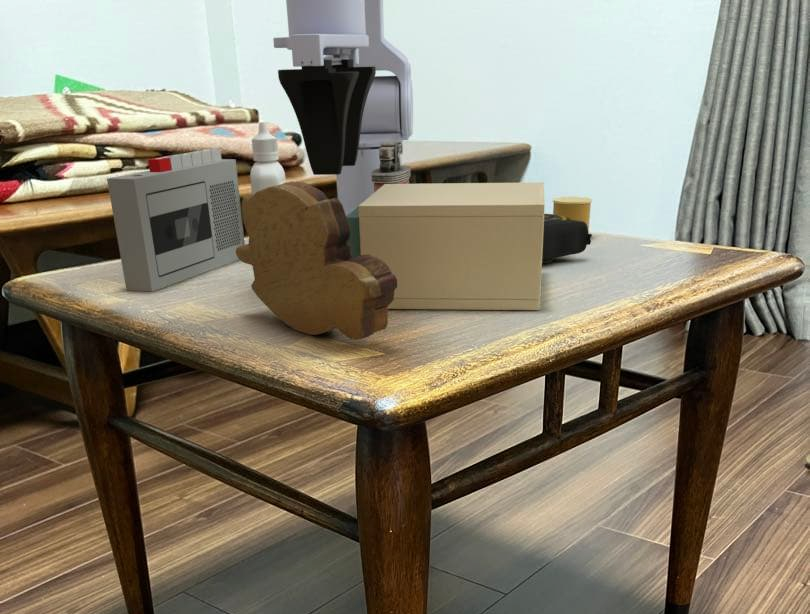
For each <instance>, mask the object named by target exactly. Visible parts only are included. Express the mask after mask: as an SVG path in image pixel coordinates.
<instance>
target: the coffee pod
mask: <svg viewBox="0 0 810 614" xmlns="http://www.w3.org/2000/svg"><path fill="white" fill-rule="evenodd" d="M552 202H553V205H552V206H553V210H552V214H555V215H561V216H565V217H567V218H569V219H571V220H576V221H583V222H585V223H586V224H587V227H588V231H590V220H591V218H590V217H591V204H592V202H593V199H592V198H590V197H584V196H562V197H560V196H559V197H555V198H553V199H552ZM588 233H589V232H588ZM589 234H590V233H589Z"/></svg>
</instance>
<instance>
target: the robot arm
mask: <svg viewBox="0 0 810 614" xmlns="http://www.w3.org/2000/svg"><path fill="white" fill-rule="evenodd" d="M285 2H286V17H287V29H288V36H284V37H282V36H281V37H273V38H272V39H273V40H272V41H273V48H274V49H287V51H288V50H289V51H291V57H292V58H291V59H292V66H293V67H294V68H290V69H288V68H287V69H277V76H278V80H279V81H278V82H279V84H280V86H281V87H282V89H283V91H284V92H285V94H286V96H287V98H288V100H289V102H290V104H291V106H292V109H293V112H294V113H295V116H296V119H297V122H298V125H299V128H300V133H301V135H302V141H303V143H304V148H305V151H306V154H307V159H308V163H309V165H310V169H311V172H312V174H313V175H314V176H323V175H324V176H328V175H329V176H331V175H332V176H333V175H334V176H335V177H336V192H337V193H336V195H337V196H336V197H337V198H338V199H339V201H340V202H341V204H342V206H343V208H344V211H345V214H346V216H347V215H348V214H350V213H351V212H352V211H353V210H354V209H356V208H357V207H358V206H359V205H360V204H361V203H362V202H364V201H365V200H366V199H367V198H368V197H370V196H371V195H372V194H373V193H374V182H372V176H371V173H372V171H374V170H376V169H378V168H380V160H379V148H380V145H381V142H391V141H401V143H402V144H403V143H404V141H409V139H410V137H411V136H412V135H413V134H414V133H413V132H414V91H413V80H412V67H411V63H410V62H409V60H408V59H409V58H408V57H407V56H406V54H404V53H403V52H402V51H400V50H399V49H398V48H397V47H396V46H394V45H393V44H392V43H391V42H389V41H388V40H387V39H386V38H385V26H384V24H385V23H384V0H285ZM295 67H296V68H295ZM297 67H298V68H297ZM299 67H301V68H299ZM376 71H377V72H378V71H386V72H391V73H392V74H393V75H377V72H376ZM376 75H377V76H376ZM402 163H403V162H402V155H400V165H403V164H402Z"/></svg>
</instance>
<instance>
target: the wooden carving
mask: <svg viewBox="0 0 810 614" xmlns="http://www.w3.org/2000/svg"><path fill="white" fill-rule="evenodd" d="M241 214H242V222H243V226H244V227H245V230H246V233H247V235H248V243H245V245H243V246H240V247H238V248H237V249H236V255H237V257H238V258H239V261H240V262H242V263H244V264H246V265H251V267H252V270H253V271H252V272H253V277H254V279H253V281H252V283H251V285H250V287H251V289H252V291H253V293H254V294H255V295H256V297H257V298H258V299H259V300H260V301H261V302H262V303H263V304H264V306H266V307H267V308H268V309H269V311H271V313H273V314H274V316H275V317H277V318H278V319H279V320H280V321H281V322H282V323H284V324H285V325H286V326H289V327H290V328H291V329H293V330H295V331H297V332H300V333H303V334H307V335H310V336H311V335H312V336H316V335H321V334H325V333H327V332H329V331H331V330H334V329H336V330H338V331H339V332H340V333H341V334H343V335H344V336H345V337H347V338H348V339H353V340H363V339H366V338H368V337H370V336H372V335H374V333H377V332H380V331H383V330H385V329H386V328H387V327H388V324H389V318H388V317H389V313H388V312H389V309H387V308H388V305H389V304H391V303H392V301H393V299H394V292H395V289H396V288H397V279H396V277H395V275H394V274H392V272H391V270H390V268H389V267H388V265H387V264H386V263H384V262H383V261H382V260H380V259H379V258H377V257H373V256H371V255H360V256H356V257H354V258H352V255H351V252H350V250H351V248H350V245H349V243H348V241H347V240H348V239H349V237H350V226H349V222H348V220H347V217H346V214H345V211H344V208H343V206H342V204H341V202H340V201H339V199H338V197H333V198H328V196H326V194H325V193H324V192H323V191H322V190H320V189H318V188H317V187H315V186H313V185H311V184H309V183H306V182H304V181H294V180H293V181H288V182H286V183H284V184H281V185H276V186H271V187H267V188H265V189H262V190H260V191H258V192H256V193H255V194H252V193H247V194H243V195H242V200H241Z"/></svg>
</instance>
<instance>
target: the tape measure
mask: <svg viewBox="0 0 810 614" xmlns="http://www.w3.org/2000/svg"><path fill="white" fill-rule="evenodd" d="M589 231H590V230H589ZM589 231H588V227H587V224H586V223H585V222H583V221H576V220H571V219H569V218H567V217H565V216H561V215H555V214H553V213H544V230H543V250H542V263H546V264H549V263H551V262H552V261H553V260H554V259H557V258H562V257H566V256H572V255H578V254H581V253H583V252H584V251H585V250H586V249H587V246H589V245H591V243H592V239H591V238H592V236H593V233H588V232H589Z"/></svg>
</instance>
